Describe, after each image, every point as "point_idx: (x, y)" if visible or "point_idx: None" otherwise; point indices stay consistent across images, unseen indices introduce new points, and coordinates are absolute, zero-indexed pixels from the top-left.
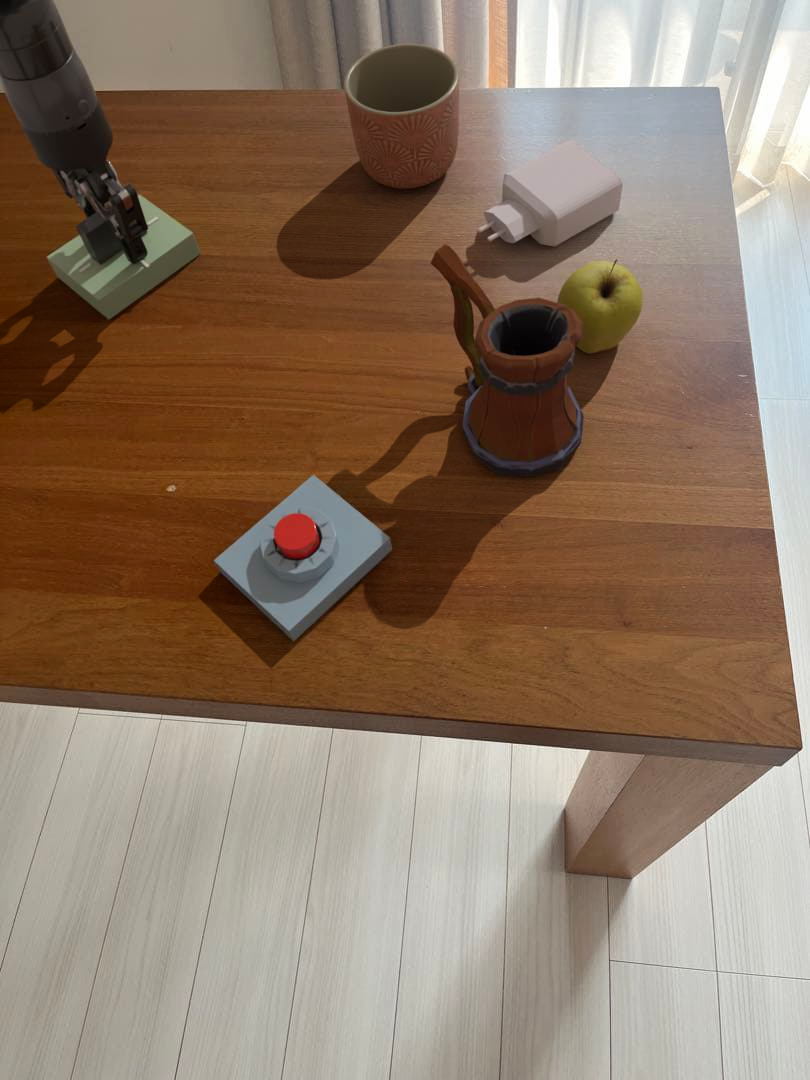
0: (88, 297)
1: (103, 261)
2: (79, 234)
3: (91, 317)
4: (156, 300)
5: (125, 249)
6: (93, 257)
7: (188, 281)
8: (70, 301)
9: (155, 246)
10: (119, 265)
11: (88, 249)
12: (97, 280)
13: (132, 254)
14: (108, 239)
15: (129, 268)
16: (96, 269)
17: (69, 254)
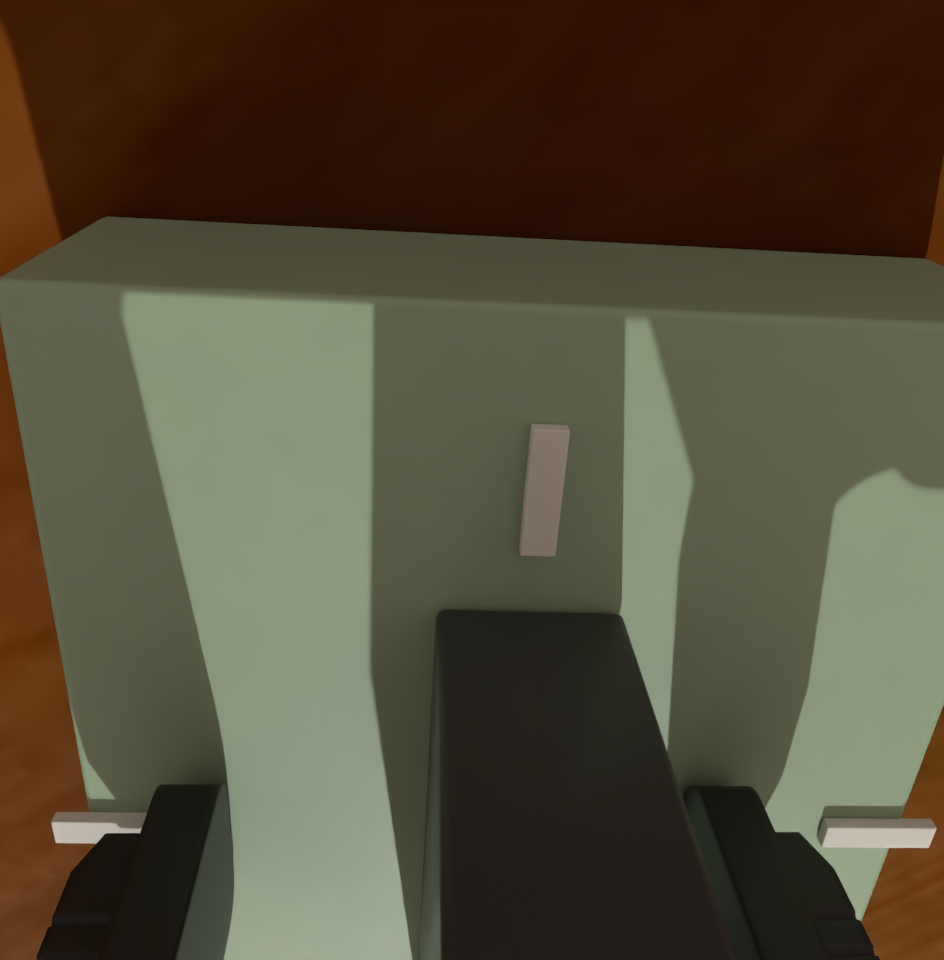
0: (332, 256)
1: (434, 651)
2: (694, 851)
3: (263, 129)
4: (25, 587)
5: (100, 950)
6: (545, 632)
7: (34, 799)
8: (601, 135)
9: (241, 955)
10: (290, 697)
11: (590, 694)
12: (282, 461)
13: (103, 902)
14: (429, 915)
15: (176, 727)
16: (426, 546)
17: (856, 506)
